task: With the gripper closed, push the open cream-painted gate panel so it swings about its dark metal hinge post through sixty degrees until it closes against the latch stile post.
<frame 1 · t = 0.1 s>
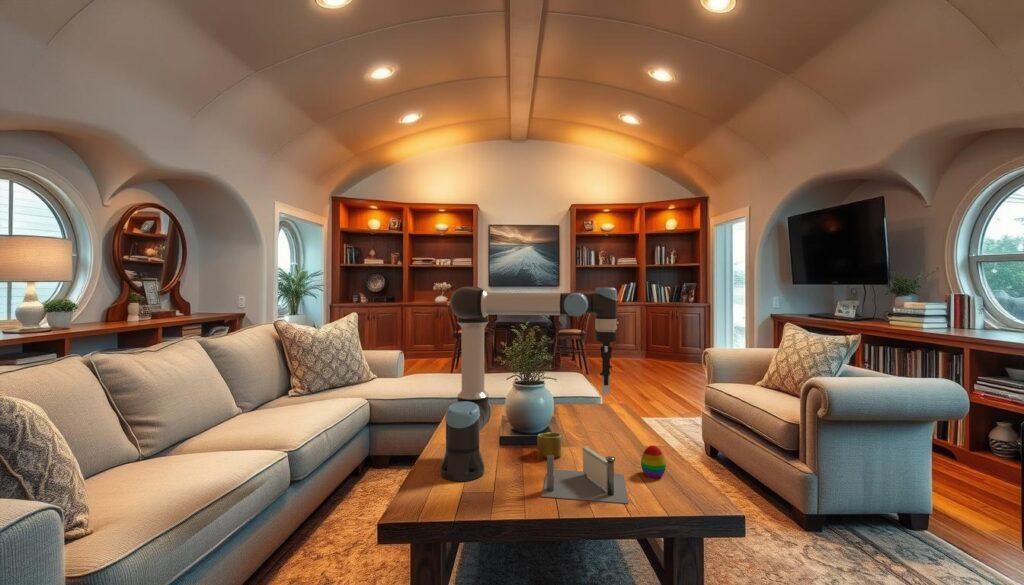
hand: (606, 390, 165), 28 cm above the table, fingers open, 13 cm apart
hinge post: (610, 495, 143), resting on mat
gate: (595, 468, 152), point 5 cm above the table, hinge at 60.0°
latch stile: (550, 490, 147), resting on mat
decorative egg: (653, 475, 160), on the table
mat: (584, 485, 151), on the table
mug: (549, 454, 180), on the table
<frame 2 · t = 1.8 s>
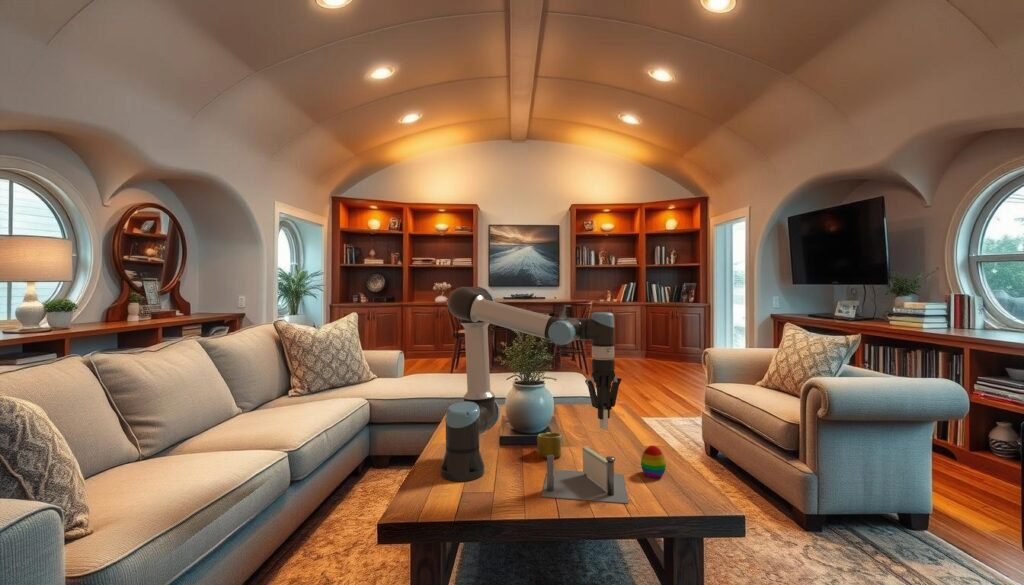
hand: (603, 428, 156), 17 cm above the table, fingers closed
nothing on the table moved.
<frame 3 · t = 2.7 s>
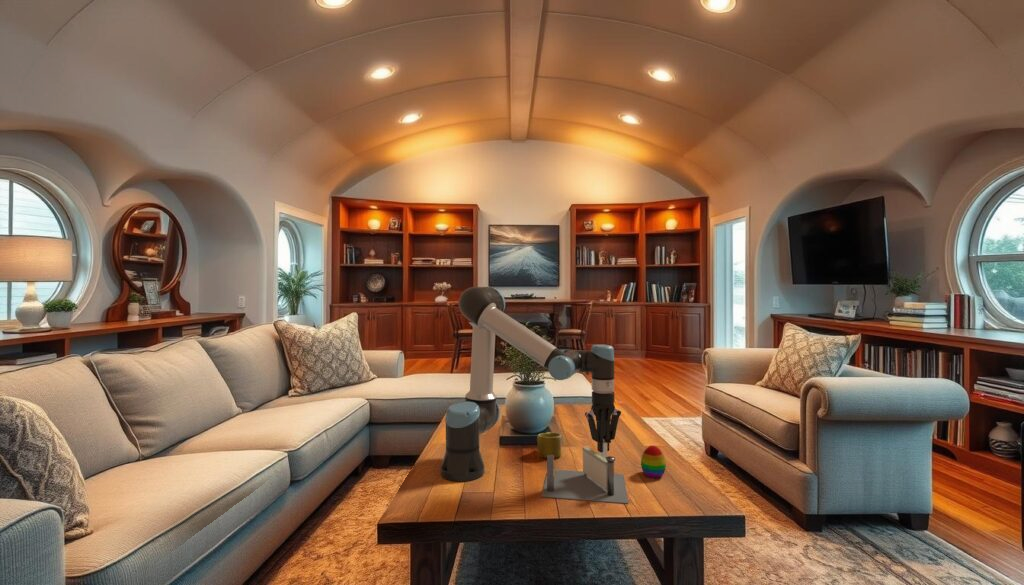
hand: (603, 461, 156), 6 cm above the table, fingers closed
nothing on the table moved.
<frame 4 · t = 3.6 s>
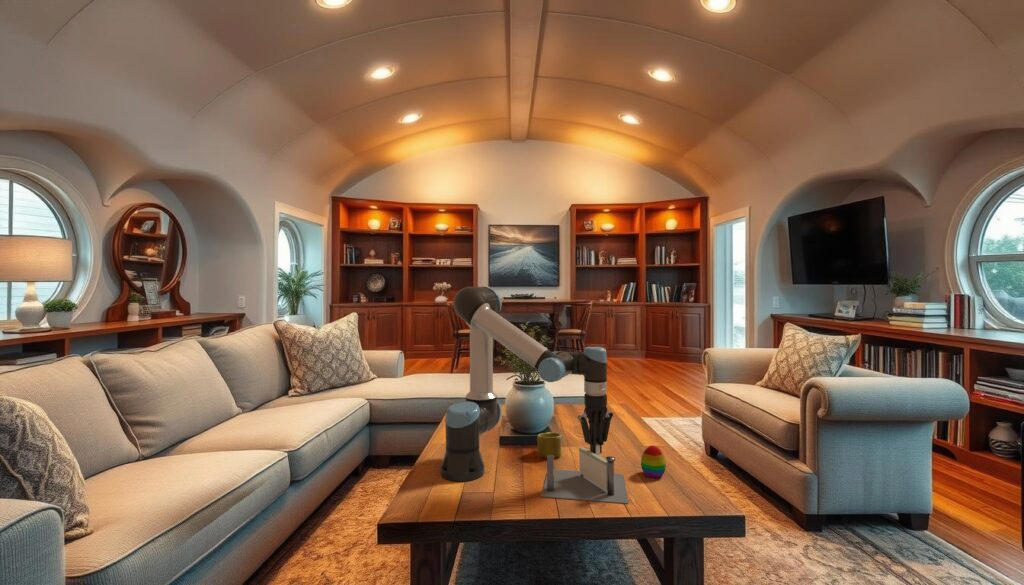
hand: (596, 463, 156), 5 cm above the table, fingers closed
gate: (593, 468, 152), point 5 cm above the table, hinge at 55.1°, touching gripper
everything else where it was.
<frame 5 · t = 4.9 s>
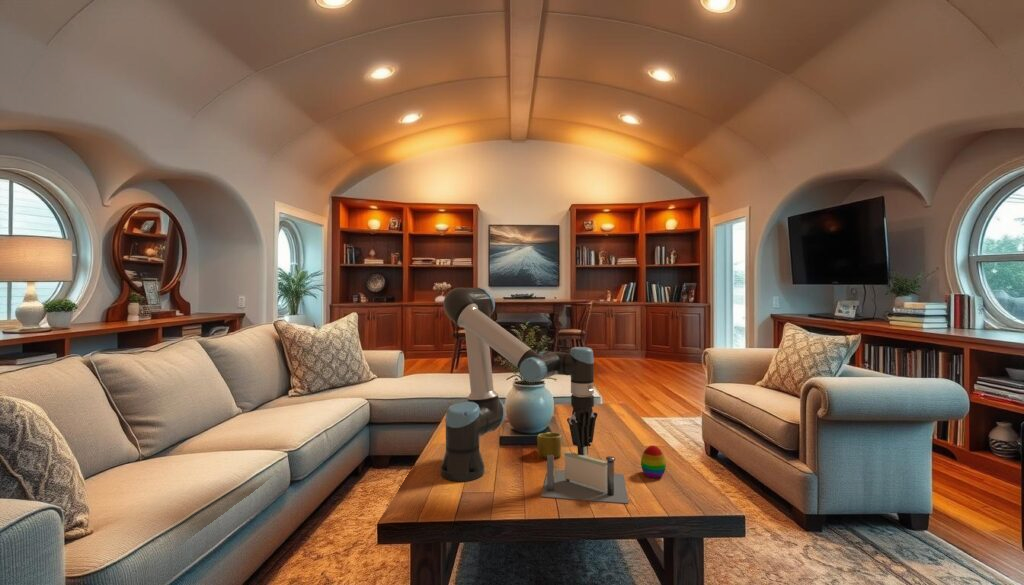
hand: (583, 465, 153), 6 cm above the table, fingers closed
gate: (585, 471, 149), point 5 cm above the table, hinge at 30.0°, touching gripper
everything else where it was.
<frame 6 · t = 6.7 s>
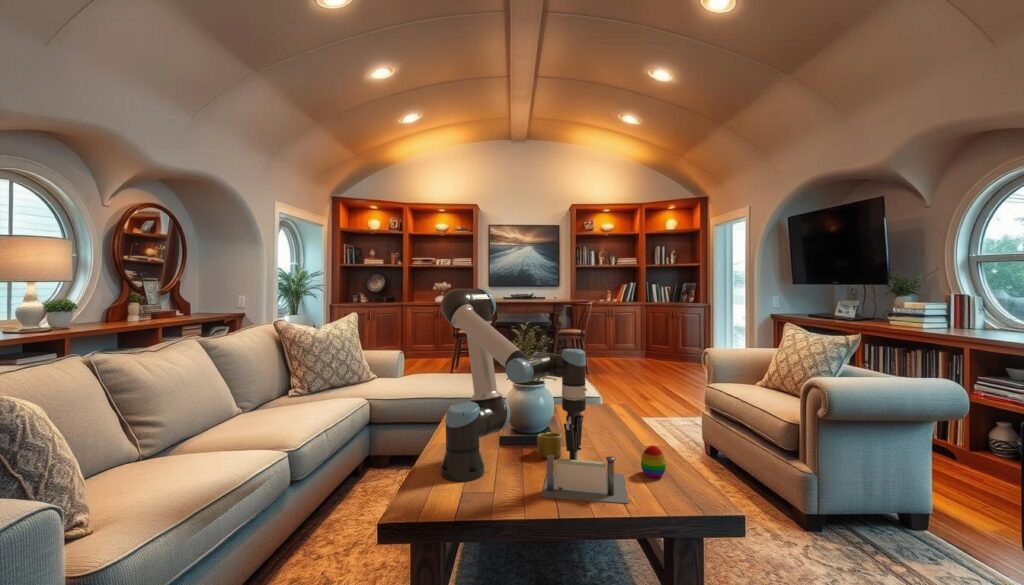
hand: (573, 470, 149), 5 cm above the table, fingers closed
gate: (581, 476, 145), point 5 cm above the table, hinge at 2.8°, touching gripper
everything else where it was.
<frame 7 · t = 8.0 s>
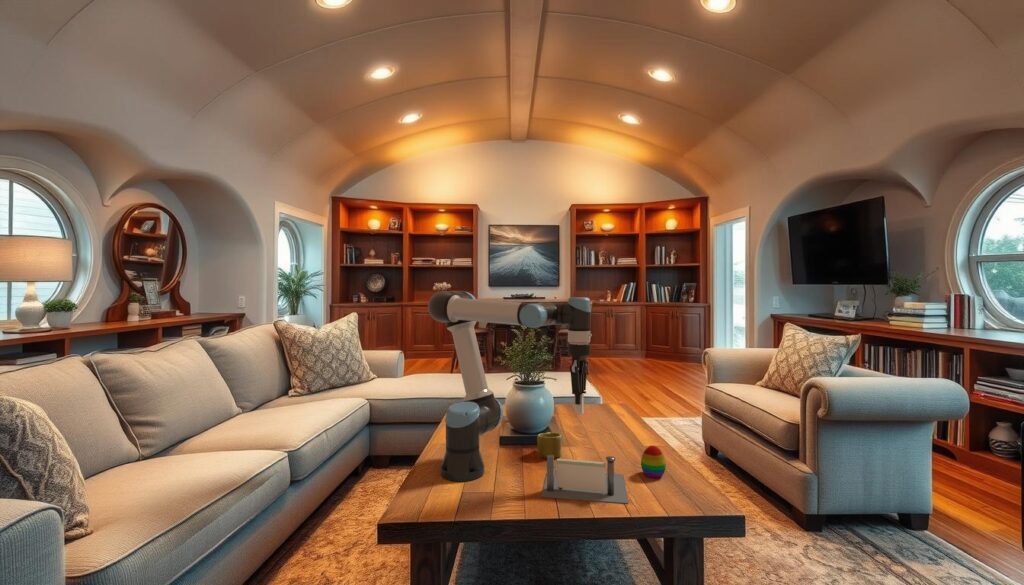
hand: (578, 413, 156), 22 cm above the table, fingers closed
gate: (581, 476, 145), point 5 cm above the table, hinge at 2.8°
everything else where it was.
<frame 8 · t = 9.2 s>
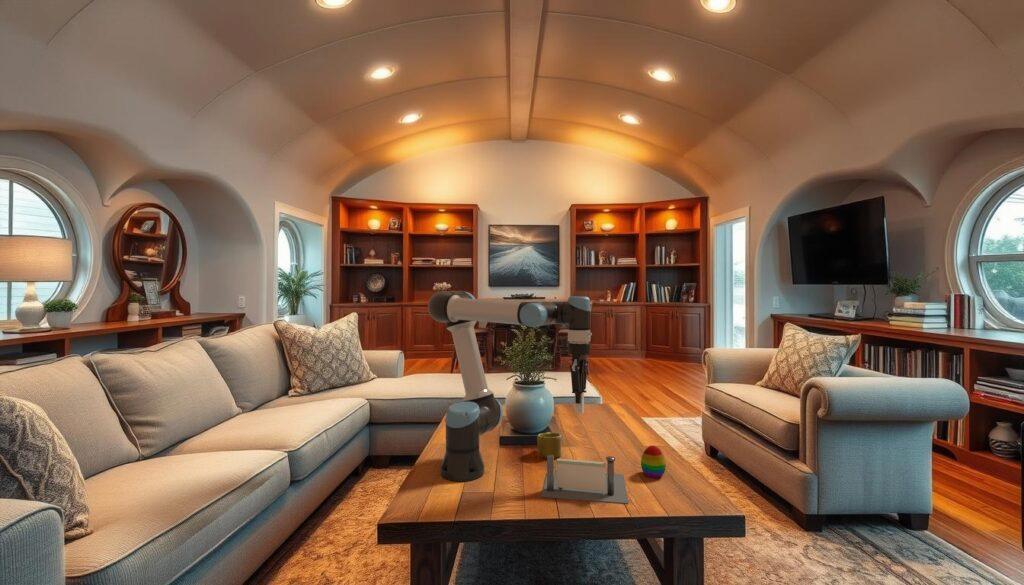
hand: (579, 412, 156), 22 cm above the table, fingers closed
nothing on the table moved.
at the end: gate at +3° (first picture: +60°) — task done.
